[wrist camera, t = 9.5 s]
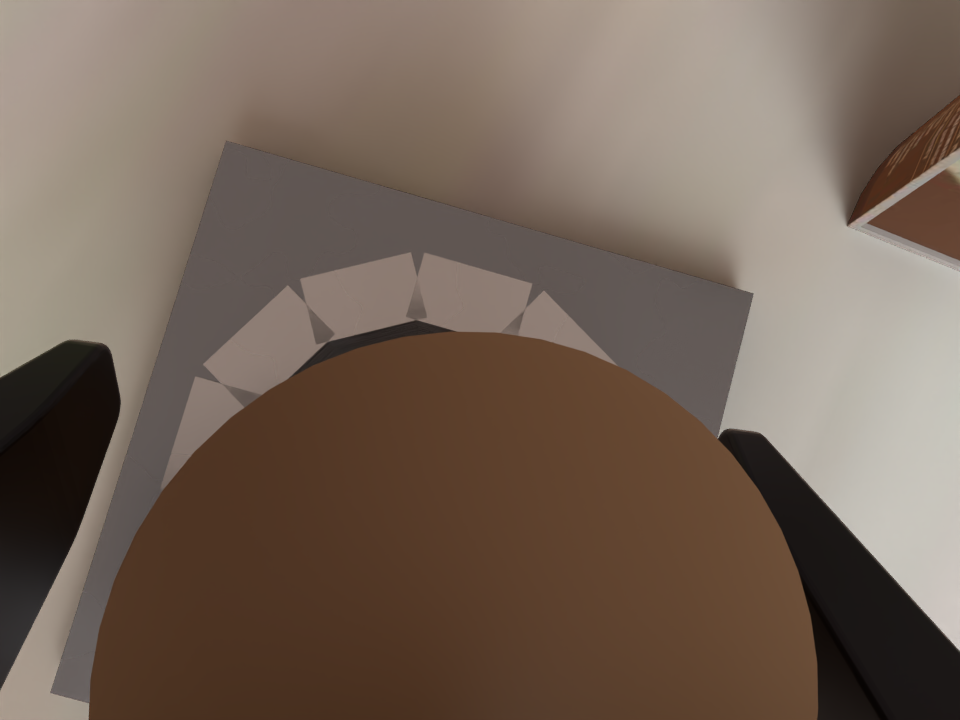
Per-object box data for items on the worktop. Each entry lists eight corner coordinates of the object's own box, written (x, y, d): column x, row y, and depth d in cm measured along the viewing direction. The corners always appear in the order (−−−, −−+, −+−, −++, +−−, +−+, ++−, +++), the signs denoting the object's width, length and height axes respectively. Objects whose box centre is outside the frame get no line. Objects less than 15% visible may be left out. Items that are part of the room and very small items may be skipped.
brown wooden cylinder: (438, 621, 17) (568, 1227, 4) (278, 514, 17) (-75, 820, 4) (543, 462, 18) (942, 587, 5) (390, 356, 18) (376, 191, 5)
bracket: (607, 824, 18) (657, 938, 14) (67, 680, 18) (-40, 755, 14) (739, 299, 19) (821, 265, 15) (235, 152, 19) (181, 78, 15)
